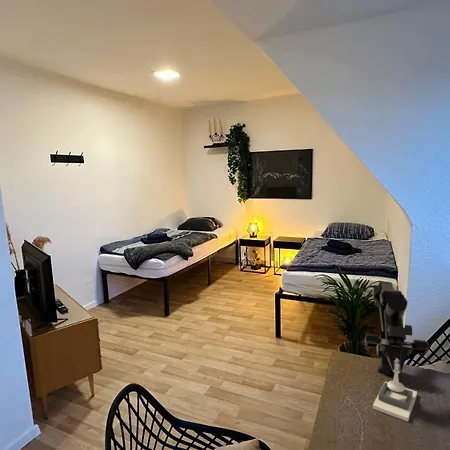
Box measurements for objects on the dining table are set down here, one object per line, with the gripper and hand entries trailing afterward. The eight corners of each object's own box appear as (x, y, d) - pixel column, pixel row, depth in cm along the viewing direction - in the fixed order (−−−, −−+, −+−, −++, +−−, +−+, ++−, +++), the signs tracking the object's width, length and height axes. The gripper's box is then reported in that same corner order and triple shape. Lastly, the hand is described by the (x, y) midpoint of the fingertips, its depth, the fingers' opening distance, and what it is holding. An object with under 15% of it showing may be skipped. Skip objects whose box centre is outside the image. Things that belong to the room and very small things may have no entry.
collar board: (384, 384, 117) (385, 376, 116) (416, 394, 111) (417, 386, 110) (372, 408, 104) (372, 399, 104) (407, 421, 98) (408, 412, 98)
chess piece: (407, 390, 105) (409, 361, 104) (394, 393, 104) (396, 363, 103) (396, 381, 110) (397, 353, 109) (384, 384, 109) (385, 355, 108)
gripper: (365, 311, 111) (366, 358, 102) (429, 317, 105) (436, 368, 96) (364, 323, 120) (365, 368, 111) (422, 330, 113) (428, 378, 104)
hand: (397, 370), depth 105 cm, fingers closed on chess piece
